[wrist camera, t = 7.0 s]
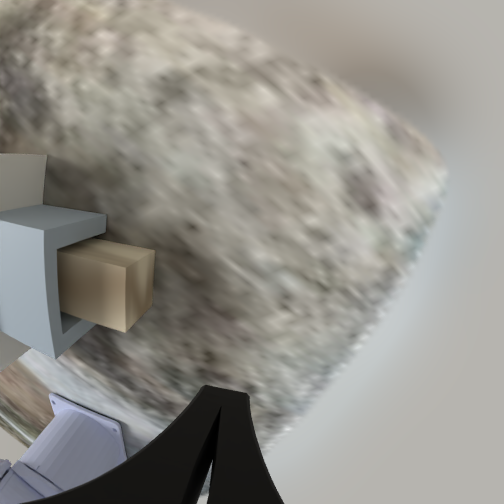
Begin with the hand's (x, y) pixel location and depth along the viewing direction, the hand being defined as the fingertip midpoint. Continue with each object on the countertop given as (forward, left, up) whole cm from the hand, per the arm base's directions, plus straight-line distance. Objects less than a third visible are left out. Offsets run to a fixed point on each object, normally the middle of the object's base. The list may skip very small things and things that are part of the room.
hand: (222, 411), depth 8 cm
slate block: (0, +12, -9) cm, 16 cm away
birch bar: (0, +10, -10) cm, 14 cm away
